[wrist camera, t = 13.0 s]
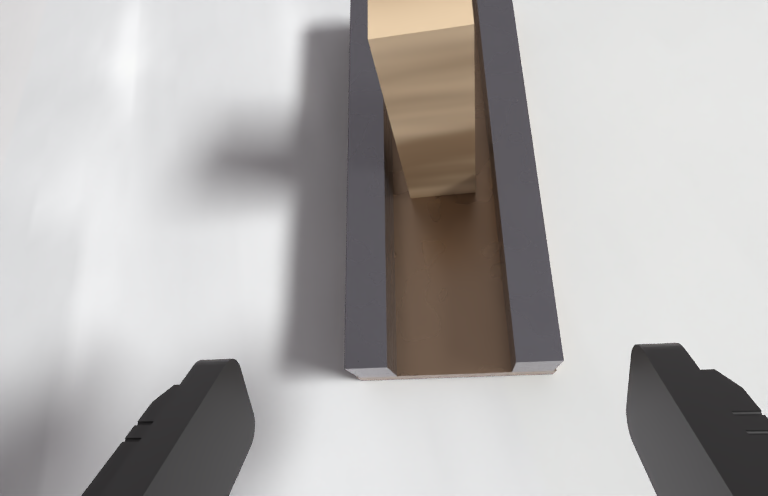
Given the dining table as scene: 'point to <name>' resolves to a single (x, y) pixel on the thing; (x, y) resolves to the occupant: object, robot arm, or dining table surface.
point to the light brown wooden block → (428, 89)
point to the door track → (448, 233)
